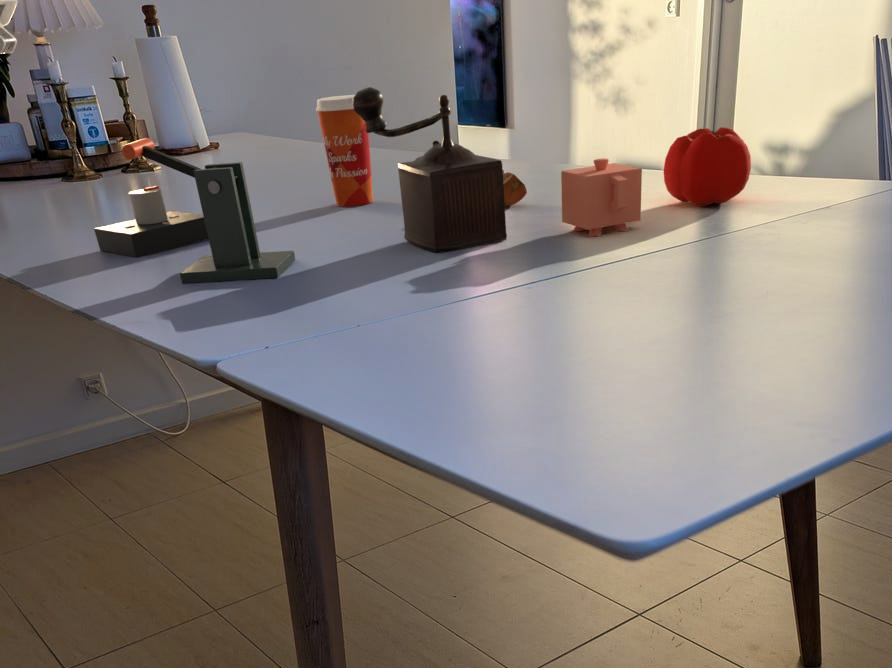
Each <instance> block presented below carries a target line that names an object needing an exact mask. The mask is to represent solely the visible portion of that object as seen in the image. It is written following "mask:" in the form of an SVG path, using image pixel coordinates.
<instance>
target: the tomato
mask: <svg viewBox="0 0 892 668" xmlns="http://www.w3.org/2000/svg"><path fill="white" fill-rule="evenodd" d="M751 159H752V158H751V153H750V151H749V147H748V144H746V143H745V141H744V139H743V138H742V137H741V136H740V135H739V134H737V132H736V131H735V129H732V128H729V127H719V128H718V129H717V130H716V129H714V130H711V129H710V128H708V127H707V128H705V127H703V128H698V129H695V130H693V131H691V132H689V133H687V135H682V136H679V137H677V138H676V139H675V140H674V141H673V142H672V144H671V145H670V146H669V149H668V151H667V154H666V156H665V158H664V163H663V164H664V165H663V181H664V185H665V188H666V191H667V192H668V193H669V194H670V196H671V197H673V198H675V199H677V200H678V201H680V202H682V203H690V204H692V205H694V206H697V207H705V206H708V205H711V204H713V203H714V204H723V203H726V202H728V201H730V200H732V199H733V198H735V197H736V196H738V195H739V194H741V192H742V191H743V190H744V189H745V187H746V185H747V184H748V181H749V179H750V173H751V169H752V163H751Z"/></svg>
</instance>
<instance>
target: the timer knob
mask: <svg viewBox="0 0 892 668" xmlns="http://www.w3.org/2000/svg"><path fill="white" fill-rule="evenodd" d="M128 196H129V201H130V203H131V208H132V212H133V216H134V220H136V223H137V224H139V225H149V224H157V223H161V222H165V221H167V220H168V218H167V213H166V212H167V210H166V206H165V201H164V198H163V193H162V190H161V188H160V186H159V185H154V186H149V187H145V188H141V189H136V190H131V191H129V192H128Z"/></svg>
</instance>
